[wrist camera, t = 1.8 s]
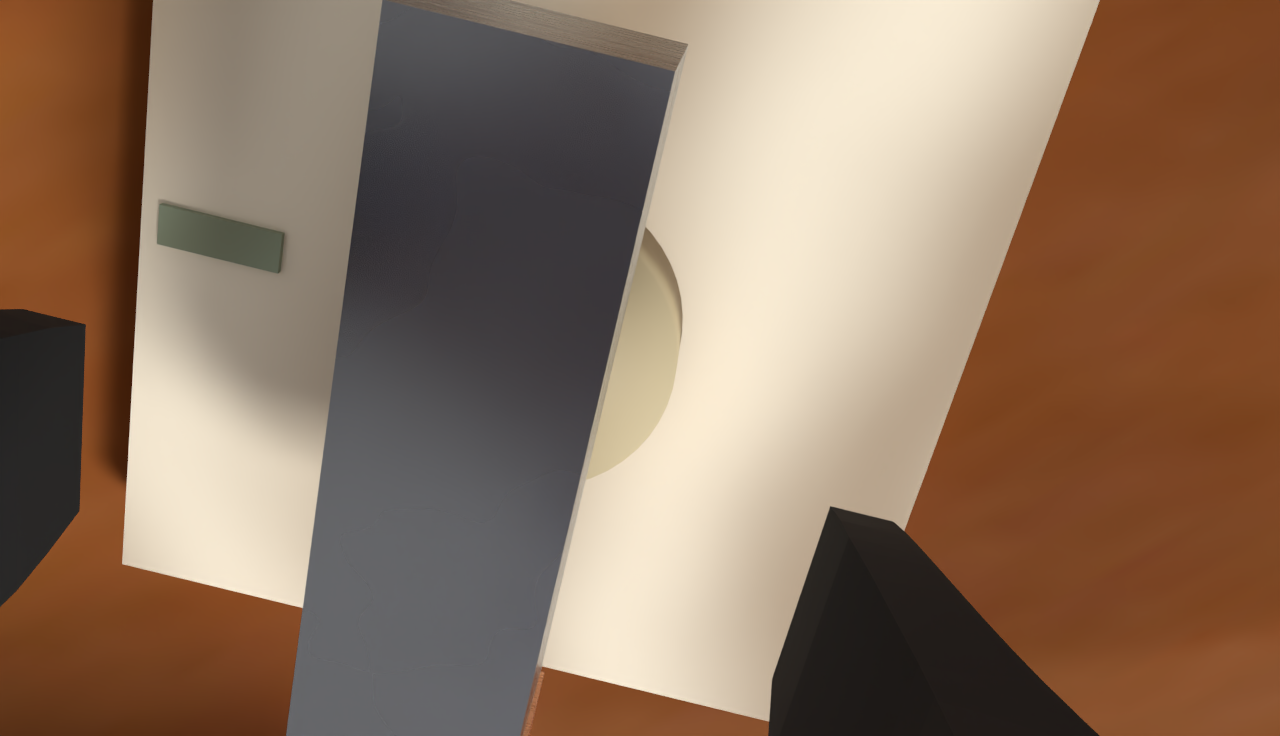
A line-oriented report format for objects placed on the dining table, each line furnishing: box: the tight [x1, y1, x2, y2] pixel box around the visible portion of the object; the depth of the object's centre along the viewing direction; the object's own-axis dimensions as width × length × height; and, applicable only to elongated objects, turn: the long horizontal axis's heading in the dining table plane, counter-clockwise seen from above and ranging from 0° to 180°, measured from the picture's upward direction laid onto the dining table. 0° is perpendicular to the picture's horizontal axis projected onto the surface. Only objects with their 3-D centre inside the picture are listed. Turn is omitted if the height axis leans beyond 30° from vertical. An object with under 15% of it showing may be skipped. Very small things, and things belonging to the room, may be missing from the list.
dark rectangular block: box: [286, 0, 688, 736], centre depth 12 cm, size 2×9×4 cm, turn 167°
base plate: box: [122, 0, 1100, 721], centre depth 16 cm, size 12×12×3 cm
